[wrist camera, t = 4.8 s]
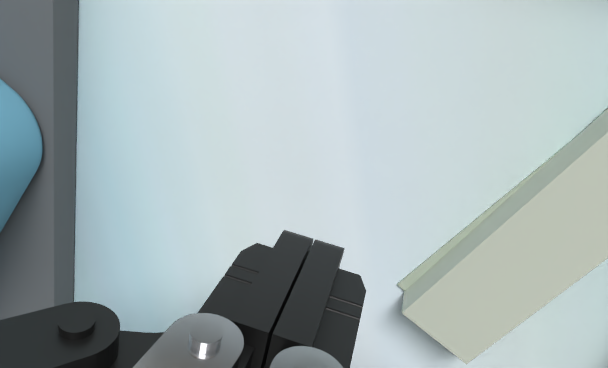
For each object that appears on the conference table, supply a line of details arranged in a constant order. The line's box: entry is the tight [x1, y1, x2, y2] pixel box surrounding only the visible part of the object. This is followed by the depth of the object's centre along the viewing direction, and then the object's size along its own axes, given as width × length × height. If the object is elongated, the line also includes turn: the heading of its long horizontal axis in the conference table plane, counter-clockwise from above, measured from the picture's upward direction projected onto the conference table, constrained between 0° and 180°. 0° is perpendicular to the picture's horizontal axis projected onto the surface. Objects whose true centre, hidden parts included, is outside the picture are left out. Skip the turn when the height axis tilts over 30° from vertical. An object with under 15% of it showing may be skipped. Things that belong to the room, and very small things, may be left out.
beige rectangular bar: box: [397, 108, 608, 364], centre depth 12 cm, size 3×10×2 cm, turn 140°
